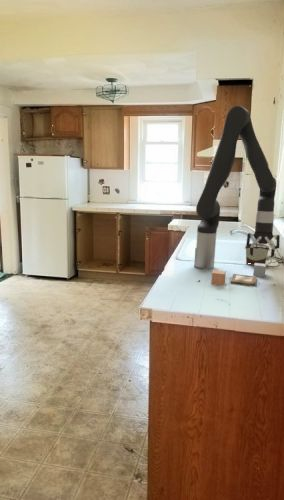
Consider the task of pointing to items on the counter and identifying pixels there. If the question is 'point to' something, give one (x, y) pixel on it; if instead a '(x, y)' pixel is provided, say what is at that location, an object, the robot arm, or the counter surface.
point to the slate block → (259, 269)
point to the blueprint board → (243, 279)
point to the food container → (257, 254)
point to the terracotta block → (218, 277)
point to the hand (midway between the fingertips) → (261, 256)
